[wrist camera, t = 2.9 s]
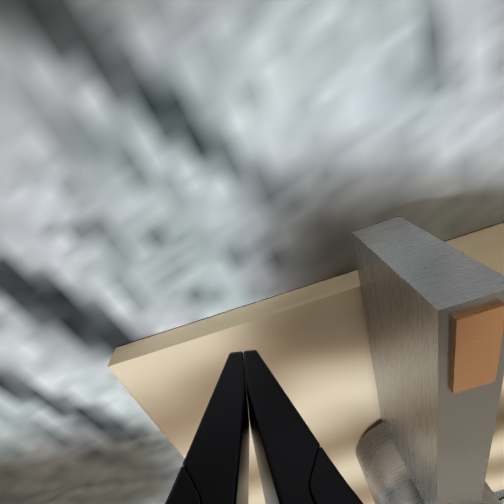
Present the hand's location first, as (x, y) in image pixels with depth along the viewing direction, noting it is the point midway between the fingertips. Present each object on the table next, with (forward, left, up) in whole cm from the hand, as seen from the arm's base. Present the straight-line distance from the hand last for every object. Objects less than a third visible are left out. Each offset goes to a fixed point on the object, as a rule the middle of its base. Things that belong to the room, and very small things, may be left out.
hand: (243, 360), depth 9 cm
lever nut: (-7, -5, -2) cm, 9 cm away
